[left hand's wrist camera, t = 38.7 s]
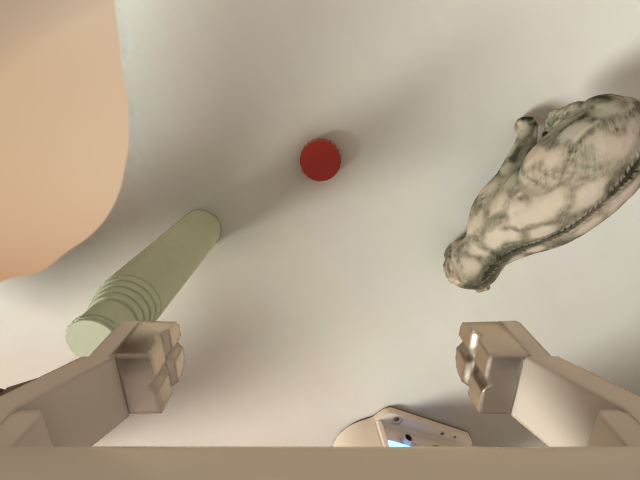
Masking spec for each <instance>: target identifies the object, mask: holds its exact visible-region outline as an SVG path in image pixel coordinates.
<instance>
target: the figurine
mask: <svg viewBox="0 0 640 480" xmlns="http://www.w3.org/2000/svg"><path fill="white" fill-rule="evenodd" d="M547 117H548V118H547V119H546V121H545V125H544V129H545V132H543V134H542V139H541V140H540V141H539V142H538V143H537V132H538V126H539V122H538V119H537V118H535V117H522V118H520V119H518V120H517V121H516V123H515V131H516V132H517V133H519V134H518V137H517V139H516V141H515V144H514V146H513V147H512V149H511V151H510V152H509V154H508V156H507V157H506V159H505V161H504V163H503V165H502V166H501V168H500V170H499V171H498V173H497V174H496V175H495V176H494V177H493V179H492V180H491V181H490V182H489V183H488V184H487V185H486V186H485V187H484V188H483V189H482V191H481V192H480V193H479V195H478V196H477V198H476V199H475V201H474V203H473V205H472V208H471V211H470V214H469V219H468V225H467V234H466V236H465V238H463V239H459V240H457V241H454V242H452V243H450V244H449V246H448V247H447V249H446V250H445V253H444V257H445V261H444V264H443V268H444V273H445V275H446V277H447V278H448V281H449V282H450V283H452V284H455V285H456V286H458V287H461V288H464V289H474V290H475V291H476V292H478V293H479V292H483V291H487V290H489V289H490V284H492V283H493V282H494V281H495V280H496V278H497V277H498V275H499V274H500V272H501V271H502V270H503V268H504V267H505V266H506V265H507V264H509V263H511V262H513V261H515V260H517V259H520V258H523V257H526V256H529V255H531V254H534V253H538V252H542V251H547V250H550V249H553V248H557V247H560V246H562V245H564V244H567V243H569V242H571V241H573V240H575V239H576V238H578V237H580V236H582V235H584V234H585V233H587V232H588V231H590V230H591V229H593V228H594V227H596V226H597V225H598V224H600V223H601V222H602V221H604V220H605V219H607V218H608V217H609V216H610V215H612V214H613V213H614V212H615V211H617V210H618V209H619V208H620V207H621V206H622V205H623V204H624V203H625V202H626V201H627V200H628V199H629V198H630V197H631V196H633V194H634V193H635V192H636V191H637V190H638V189H639V188H640V100H638V99H635V98H631V97H626V96H620V95H614V94H604V95H598V96H595V97H592V98H589V99H588V100H586V101H578V102H573V103H571V104H569V105H567V106H565V107H563V108H561V109H553V110H551V111H549V112H548V113H547ZM536 143H537V144H536Z"/></svg>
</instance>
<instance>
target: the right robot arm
mask: <svg viewBox="0 0 640 480" xmlns="http://www.w3.org/2000/svg"><path fill="white" fill-rule="evenodd" d="M36 379H37V378H36ZM33 380H35V379H33ZM33 380H30V381H27V382H23V383H20V384H17V385H14V386H11V387H8V388H6V389H1V388H0V396H1V395H4V394H6V393H8V392H10V391H12V390H14V389H16V388H18V387H20V386H22V385H24V384H26V383H29V382H31V381H33Z"/></svg>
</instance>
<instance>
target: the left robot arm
mask: <svg viewBox="0 0 640 480" xmlns="http://www.w3.org/2000/svg"><path fill="white" fill-rule="evenodd" d="M180 336H181V332H180V327H179V324H178V323H177V322H162V321H124V322H120V323H119V324H118V325H117V326H116V328H115V329H114V330H113V331H112V332H111V333H110V334H109V335H108V336H107V337H106V338H105V339H104V340H103V341H102V343H101V344H100V345H99V346H98V347H97V348H96V349H95V350H94V351H93V352H92V353H91V354H90V355H89V356H88V357H81V358H79V359H76V360H74V361H72V362H70V363H68V364H66V365H64V366H62V367H60V368H58V369H56V370H54V371H51V372H49V373H47V374H45V375H43V376H41V377H39V378H37V379H35V380H33V381H31V382H29V383H26V384H24V385H22V386H20V387H18V388H16V389H14V390H12V391H10V392H8V393H6V394H4V395H1V396H0V480H640V396H638V395H636V394H634V393H632V392H630V391H628V390H626V389H624V388H622V387H620V386H618V385H615V384H613V383H611V382H609V381H607V380H605V379H603V378H601V377H599V376H597V375H595V374H593V373H591V372H588V371H586V370H584V369H582V368H580V367H578V366H576V365H574V364H572V363H570V362H568V361H566V360H564V359H561V358H559V357H552V356H551V355H550V354H549V353H548V352H547V351H546V350H545V349H544V348H543V347H542V346H541V345H540V344H539V343H538V341H537V340H536V339H535V338H534V337H533V336H532V335H531V334H530V333H529V332H528V331H527V330H526V329H525V328H524V326H523V325H522V324H521V323H519V322H517V321H498V322H463V323H462V325H461V327H460V331H459V336H460V337H461V339H462V341H463V342H462V343H461V344H460V345H459V346H458V347H457V350H456V368H457V371H458V374H459V376H460V379H461V381H462V382H463V383H465V384H466V385H468V386H469V392H468V394H469V396H470V398H471V400H472V402H473V404H474V406H475V408H476V409H477V411H478V413H495V414H511V416H512V417H513V418H515V419H516V420H517V421H518V422H520V423H521V424H522V425H523V426H524V427H526V428H527V429H528V430H529V431H531V432H532V433H533V434H534V435H535V436H537V437H538V438H539V439H540V440H541V441H543V442H544V443H545V444H546V445H548V446H549V447H473V445H472V441H471V438H470V435H469V433H467V432H465V431H462V430H459V429H456V428H453V427H450V426H447V425H444V424H441V423H438V422H435V421H432V420H429V419H426V418H423V417H420V416H417V415H414V414H411V413H408V412H405V411H401V410H398V409H395V408H392V407H387V408H385V409H383V410H381V411H380V412H378V413H377V414H375V415H374V416H373V417H371V418H368V419H365V420H361V421H359V422H356V423H354V424H352V425H350V426H349V427H347V428H346V429H344V430H343V431H342V432H341V433H340V434H339V435H338V437H337V438H336V440H335V442H334V444H333V447H91V446H93V445H94V444H95V443H96V442H97V441H99V440H100V439H101V438H102V437H104V436H105V435H106V434H107V433H108V432H110V431H111V430H112V429H113V428H114V427H116V426H117V425H118V424H119V423H121V422H122V421H123V420H124V419H125V418H127V417H128V416H129V414H144V413H162V411H163V409H164V408H165V406H166V404H167V402H168V400H169V398H170V396H171V394H172V392H171V386H172V385H174V384H175V383H177V382H178V381H179V378H180V376H181V374H182V371H183V366H184V350H183V347H182V346H181V345H180V344H179V343H178V342H177V341H178V339H179V337H180ZM396 417H397V418H396Z"/></svg>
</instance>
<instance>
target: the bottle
mask: <svg viewBox="0 0 640 480" xmlns="http://www.w3.org/2000/svg"><path fill="white" fill-rule="evenodd" d="M220 234H221V227H220V224H219V222H218V220H217V219H216V217H215V216H214V215H212V214H211V213H209V212H207V211H203V210H195V211H192V212H190V213H188V214H187V215H186V216H185V217H184V218H182V219H181V220H180V221H179V222H177V223H176V224H175V225H174V226H173V227H171V228H170V229H169V230H168V231H166V232H165V233H164V234H163V235H161V236H160V237H159V238H158V239H157V240H155V241H154V242H153V243H152V244H150V245H149V246H148V247H147V248H146V249H144V250H143V251H142V252H141V253H139V254H138V255H137V256H136V257H135V258H133V259H132V260H131V261H130V262H128V263H127V264H126V265H125V266H123V267H122V268H121V269H120V270H119V271H117V272H116V273H115V274H114V275H112V276H111V277H110V278H109V279H108V280H106V281H105V282H104V284H103V285H102V286H101V287H100V288H99V290H98V291H97V293H96V295H95V297H94V299H93V300H92V302H91V304H90V305H89V307H88V309H87V311H86V312H85V313H84V314H83V315H81V316H79V317H77V318H76V319H75V320H74V321H73V322H72V323H71V324H70V325H69V326H68V327H67V329H66V342H67V344H68V346H69V348H70V350H71V351H72V352H73V353H74V354H75V355H77V356H78V357H79V358H81V357H88V356H89V355H90V354H91V353H92V352H93V351H94V350H95V349H96V348H97V347H98V346H99V345H100V344H101V343H102V341H103V340H104V339H105V338H106V337H107V336H108V335H109V334H110V333H111V332H112V331H113V330H114V329H115V328H116V326H117V325H118V324H119V323H120V322H124V321H156V320H157V319H158V318H159V316H160V315H161V314H162V312H163V311H164V310H165V309H166V307H167V306H168V305H169V303H170V302H171V301H172V299H173V298H174V297H175V295H176V294H177V293H178V291H179V290H180V289H181V288H182V286H183V285H184V284H185V282H186V281H187V280H188V278H189V277H190V276H191V274H192V273H193V272H194V271H195V269H196V268H197V267H198V265H199V264H200V263H201V261H202V260H203V259H204V257H205V256H206V255H207V254H208V252H209V251H210V250H211V248H212V247H213V246H214V244H215V243H216V242H217V240H218V239H219V237H220Z"/></svg>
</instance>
